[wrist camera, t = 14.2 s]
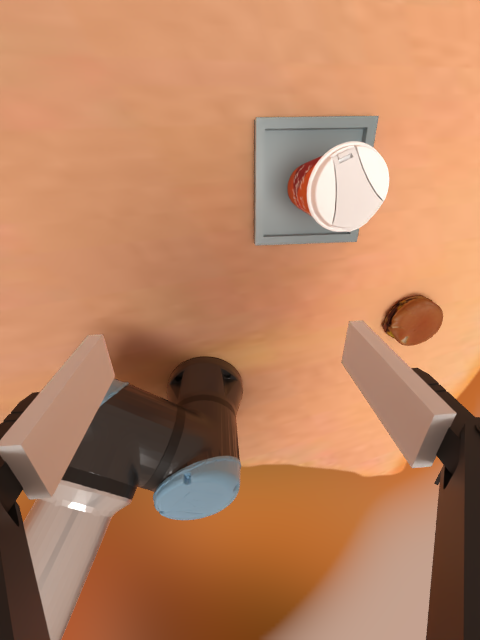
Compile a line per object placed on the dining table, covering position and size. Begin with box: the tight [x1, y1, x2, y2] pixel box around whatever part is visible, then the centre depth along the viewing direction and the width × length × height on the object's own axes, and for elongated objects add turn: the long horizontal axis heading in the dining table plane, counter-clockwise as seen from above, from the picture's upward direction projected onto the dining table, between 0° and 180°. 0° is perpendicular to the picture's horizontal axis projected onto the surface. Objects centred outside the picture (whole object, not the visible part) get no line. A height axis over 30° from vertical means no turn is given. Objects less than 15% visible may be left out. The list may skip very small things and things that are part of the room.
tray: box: [254, 116, 379, 245], centre depth 39 cm, size 16×16×2 cm
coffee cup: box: [287, 141, 389, 232], centre depth 33 cm, size 8×8×15 cm
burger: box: [383, 296, 443, 346], centre depth 50 cm, size 10×9×5 cm
